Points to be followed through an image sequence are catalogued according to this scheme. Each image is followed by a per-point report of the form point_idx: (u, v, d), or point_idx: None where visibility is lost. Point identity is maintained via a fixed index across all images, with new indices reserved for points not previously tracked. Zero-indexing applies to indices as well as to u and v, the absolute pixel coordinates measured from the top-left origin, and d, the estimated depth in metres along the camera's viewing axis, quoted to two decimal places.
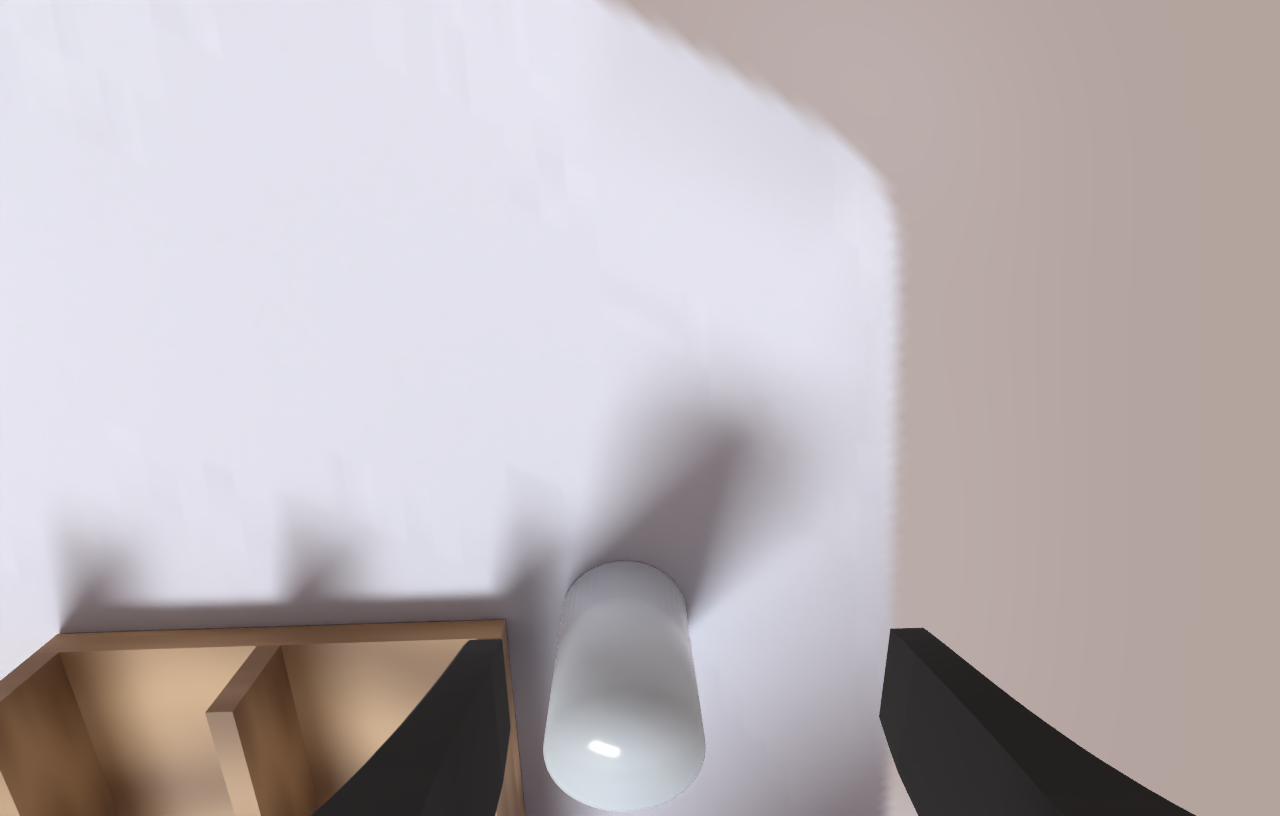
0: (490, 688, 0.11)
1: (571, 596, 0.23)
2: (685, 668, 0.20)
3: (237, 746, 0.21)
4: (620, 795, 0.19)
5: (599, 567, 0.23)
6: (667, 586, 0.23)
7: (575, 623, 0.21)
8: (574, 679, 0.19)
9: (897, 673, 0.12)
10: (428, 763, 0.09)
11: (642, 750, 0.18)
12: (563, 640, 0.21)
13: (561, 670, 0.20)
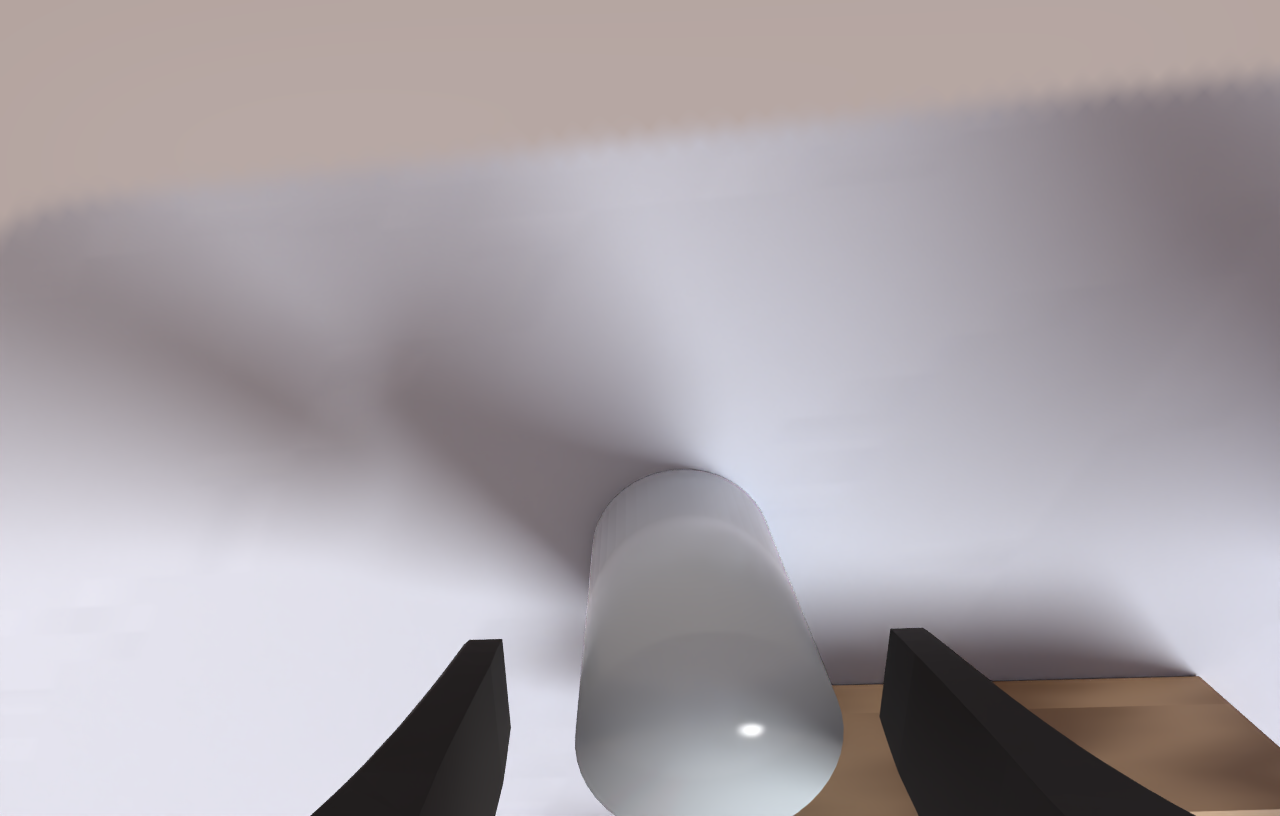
0: (490, 688, 0.11)
1: None
2: (629, 592, 0.12)
3: None
4: (805, 748, 0.11)
5: None
6: (614, 511, 0.16)
7: None
8: None
9: (897, 673, 0.12)
10: (428, 763, 0.09)
11: (710, 719, 0.11)
12: None
13: None
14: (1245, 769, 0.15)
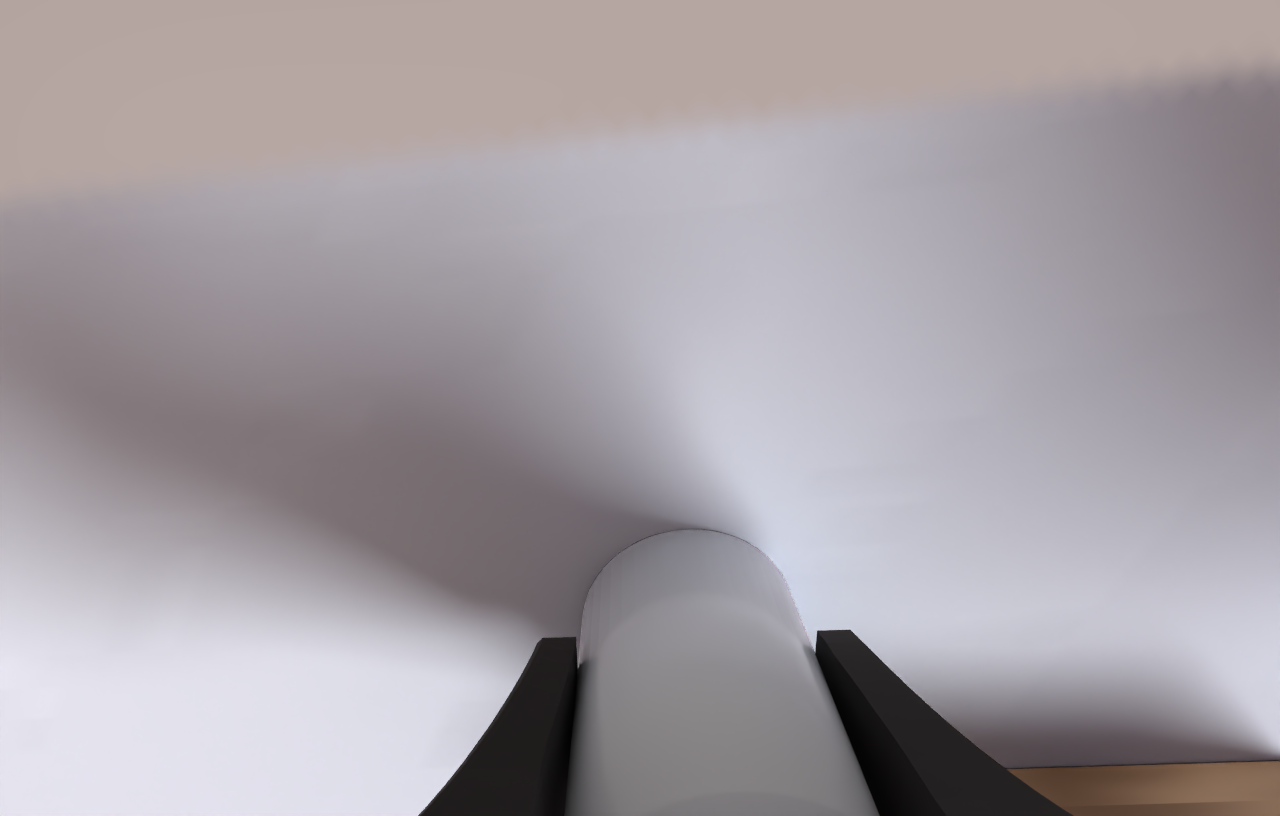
0: (570, 686, 0.11)
1: None
2: (627, 712, 0.09)
3: None
4: None
5: None
6: (608, 582, 0.13)
7: None
8: None
9: None
10: (529, 760, 0.09)
11: None
12: None
13: None
14: None
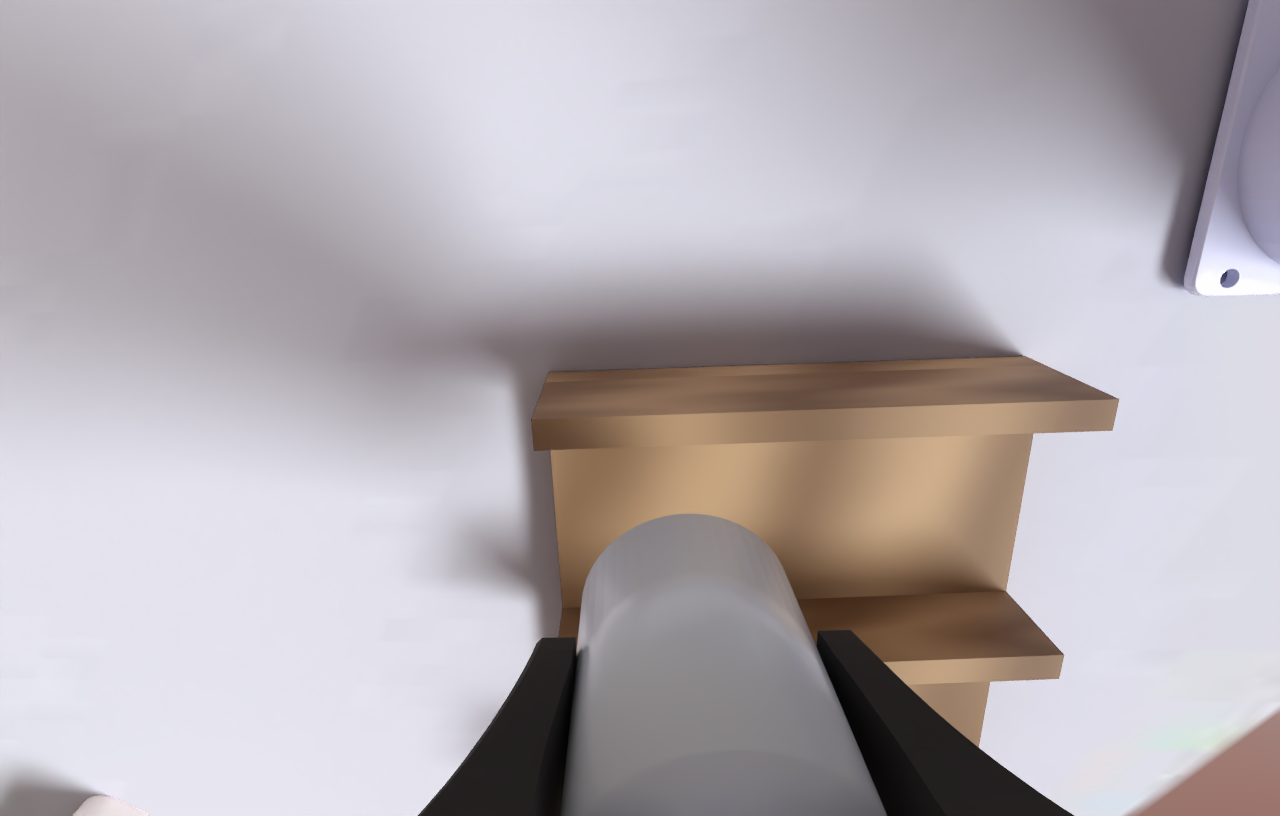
0: (570, 686, 0.11)
1: None
2: (618, 685, 0.10)
3: None
4: None
5: None
6: (603, 568, 0.13)
7: None
8: None
9: None
10: (529, 760, 0.09)
11: None
12: None
13: None
14: (1038, 388, 0.17)
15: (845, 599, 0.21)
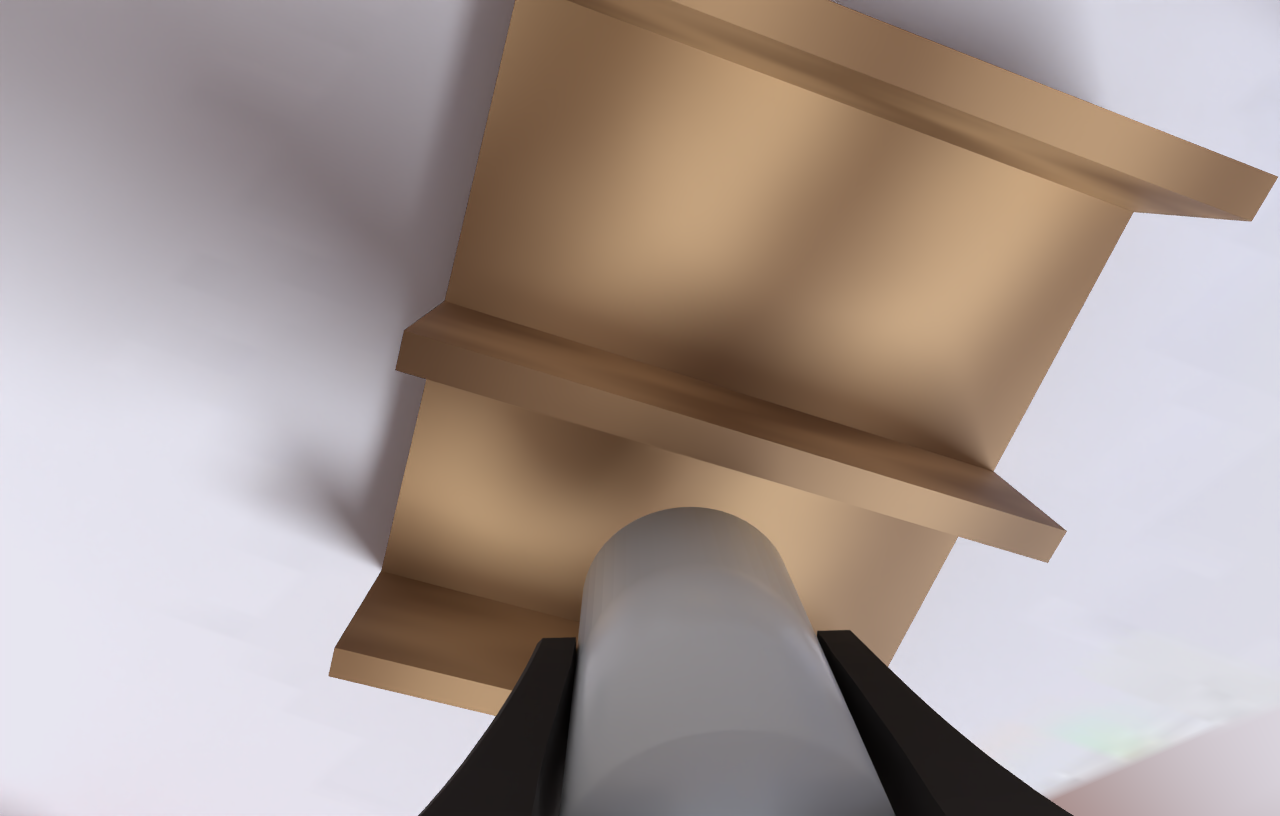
0: (570, 686, 0.11)
1: None
2: (616, 673, 0.10)
3: (473, 358, 0.13)
4: None
5: None
6: (602, 563, 0.13)
7: None
8: None
9: None
10: (529, 760, 0.09)
11: None
12: None
13: None
14: None
15: (807, 414, 0.16)
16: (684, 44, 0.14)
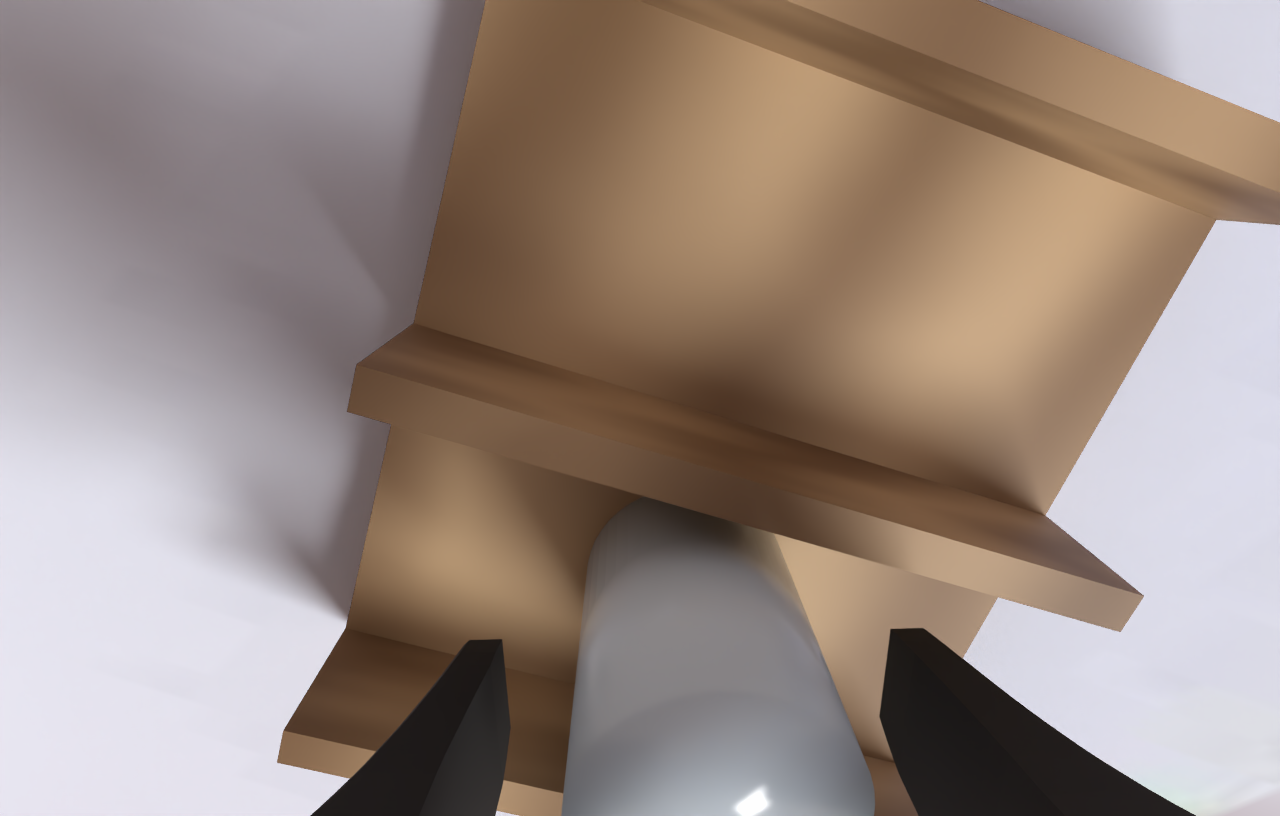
0: (490, 688, 0.11)
1: None
2: (617, 641, 0.11)
3: (441, 398, 0.11)
4: (831, 815, 0.10)
5: None
6: (605, 539, 0.14)
7: None
8: None
9: (897, 673, 0.12)
10: (428, 763, 0.09)
11: (716, 790, 0.09)
12: None
13: None
14: None
15: (833, 452, 0.14)
16: (694, 22, 0.12)
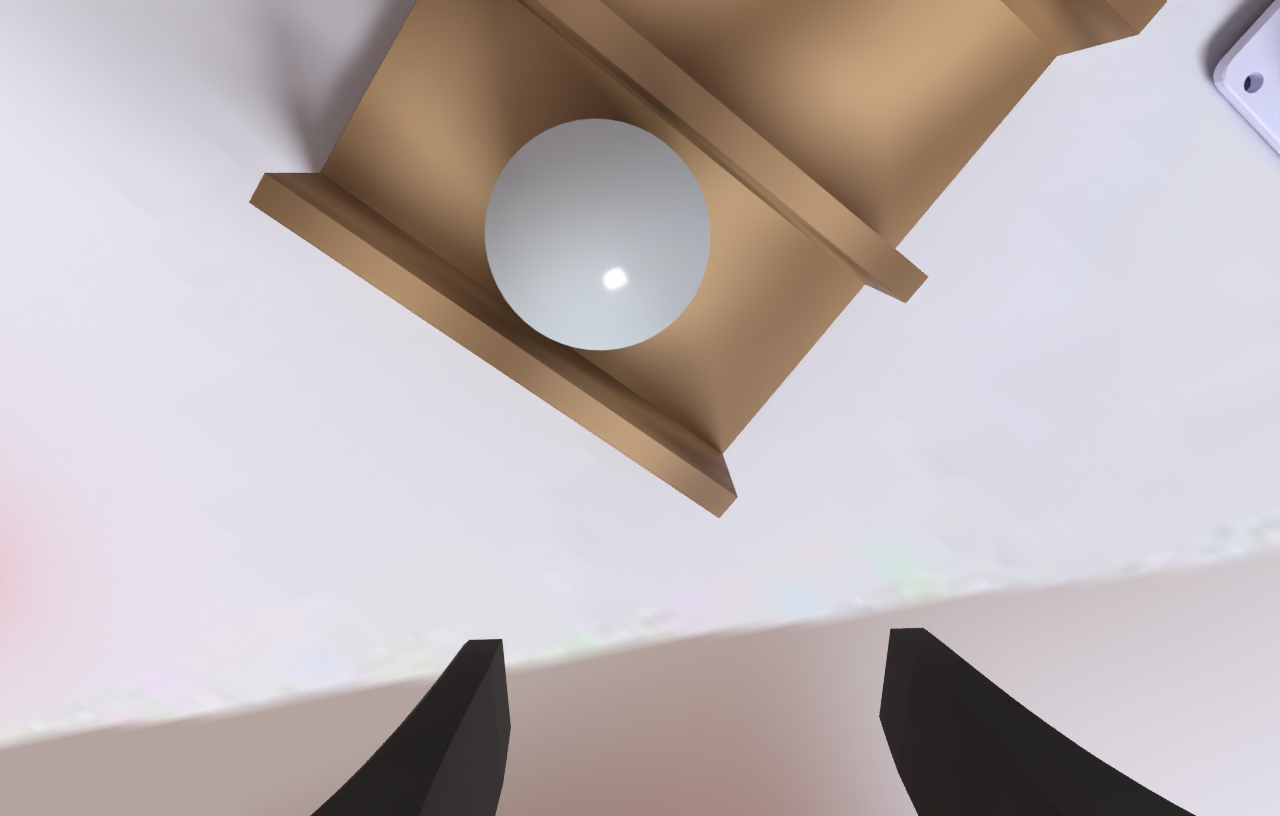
0: (490, 688, 0.11)
1: None
2: None
3: None
4: (675, 267, 0.13)
5: None
6: None
7: None
8: None
9: (897, 673, 0.12)
10: (428, 763, 0.09)
11: (603, 214, 0.13)
12: None
13: None
14: None
15: None
16: None
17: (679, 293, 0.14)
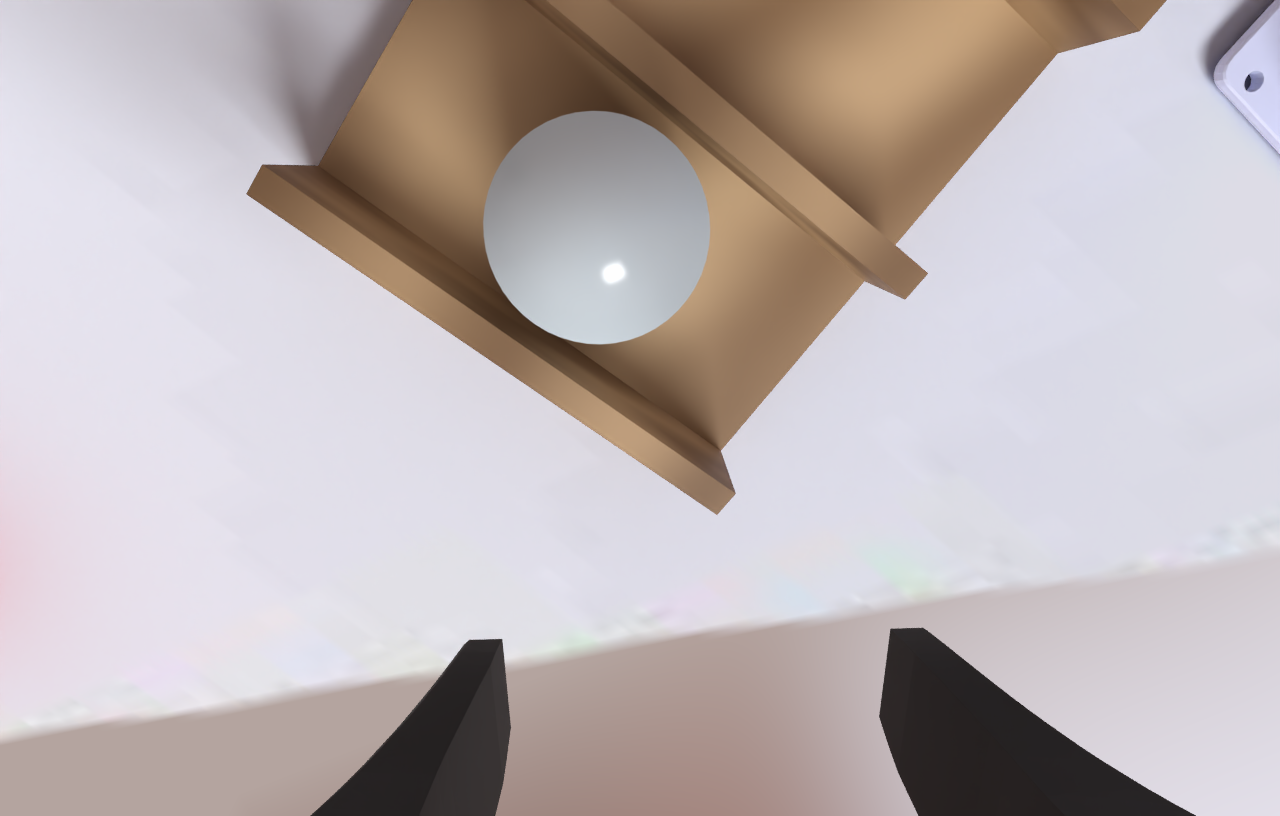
0: (490, 688, 0.11)
1: None
2: None
3: None
4: (674, 261, 0.13)
5: None
6: None
7: None
8: None
9: (897, 673, 0.12)
10: (428, 763, 0.09)
11: (603, 208, 0.13)
12: None
13: None
14: None
15: None
16: None
17: (678, 287, 0.14)
